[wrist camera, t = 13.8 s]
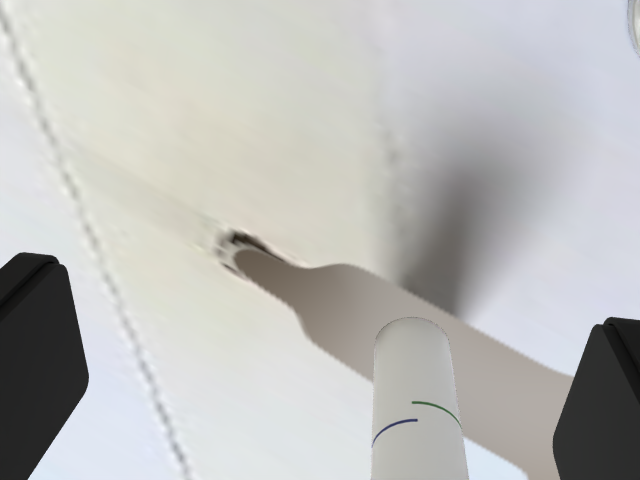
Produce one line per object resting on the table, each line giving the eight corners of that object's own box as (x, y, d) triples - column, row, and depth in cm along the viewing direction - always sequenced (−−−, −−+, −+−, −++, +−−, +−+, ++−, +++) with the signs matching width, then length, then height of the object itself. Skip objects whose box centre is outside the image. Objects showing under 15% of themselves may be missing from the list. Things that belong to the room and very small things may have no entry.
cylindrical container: (365, 326, 54) (350, 595, 33) (439, 310, 53) (475, 583, 31) (386, 380, 57) (385, 660, 36) (457, 367, 56) (501, 652, 34)
